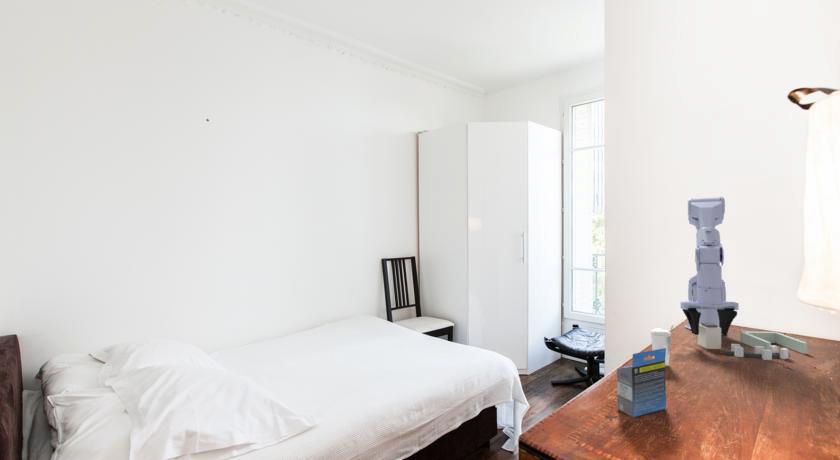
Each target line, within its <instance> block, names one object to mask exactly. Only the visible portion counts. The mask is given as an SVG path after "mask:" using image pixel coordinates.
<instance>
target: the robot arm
mask: <svg viewBox="0 0 840 460" xmlns="http://www.w3.org/2000/svg"><path fill="white" fill-rule="evenodd" d="M725 199H726V198H724V196H716V197H689V198H688V199H687V215H688V219H687V220H688V221H689V222H688V223H689V224H690V225H692V226H694V227H695V229H696V233H695V234H696V235H695V236H696V237H695V239H696V247H695V249H694V258H695V259H694V262H695V265H696V272H697V273H696V274H695V275H693V276H692V277H690V278H689V280H688V285H687V286H688V289H687V293H688V294H687V295H688V297H687V298H688V299H687V301H680V309H682V312H683V313H684V315H685V317H686V320H687V322H686V323H687V325H684V327H685V328H686V329H688V330H690V331H691V334H693V335H696V336H698V334H699V324H701V323H713V324H715V325H718V327H720V328H721V336H728V334H729V329H730V327H731V325H732V323H733V321H734V319H735V318H737V315H738V311H739V309H740V308H739V307H740V306H739V302H736V301H727V289H726V282H725V281H724V279H723V278H722V271H723V270H722V269H723V268H722V267H723V266H724V261H725V253H724V247H723V245H722V243H721V235H720V234H721V233H720V231H719V230H718V229H717V228H716V226H719V225H721V224H723V221H724V217H725V213H726V212H725V211H726V200H725ZM720 263H721V265H720Z"/></svg>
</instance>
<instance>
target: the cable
mask: <svg viewBox="0 0 840 460" xmlns="http://www.w3.org/2000/svg"><path fill="white" fill-rule="evenodd" d="M719 350H720V352H719V353H720V354H721V355H727V356H728V355H730V356H734V351H731V350H725V349H719ZM788 356H790V352H789V351H788ZM744 357H749V358H757V359H762V354H756V353H755V352H747V351H746V352H745V351H744ZM774 358H775V359H777V358H780V351H779V352H777V353H772V359H774Z"/></svg>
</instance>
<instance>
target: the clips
mask: <svg viewBox="0 0 840 460" xmlns="http://www.w3.org/2000/svg"><path fill="white" fill-rule="evenodd" d="M730 347H731V349H730V351H734V355H733V356H734V357H736V358H744V357H745V356H744V352H745V351H744V347H743V346H741V344H739V343H731V345H730ZM779 352H780V357H779V358H780V359H781V360H787V359H789V355H788V352H789V348H787V347H783V348H782V347H781V348H779ZM754 353H756V354H762V358H761V360H764V361H772V360H773V358H772V353H778V346H777V345H772V344H771V346H769V350H764V347H762V346H755V348H754Z"/></svg>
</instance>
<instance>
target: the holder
mask: <svg viewBox="0 0 840 460" xmlns="http://www.w3.org/2000/svg"><path fill="white" fill-rule="evenodd" d="M739 342H740V343H742V344H744V345H747V346H749V347H752V348H753V349H755V346H762V347H764V350H769V346H771V345H772V344H776V345H777V344H778V345H779V346H782V347H783V348H786V349H788V350H789V349H790V350H792V351H794V352H797V353H800V354H802V355H808V342H806V341H803V340H801V339H797V338H794V337H792V336H789V335H786V334H783V333H780V332H778V331H739Z"/></svg>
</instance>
